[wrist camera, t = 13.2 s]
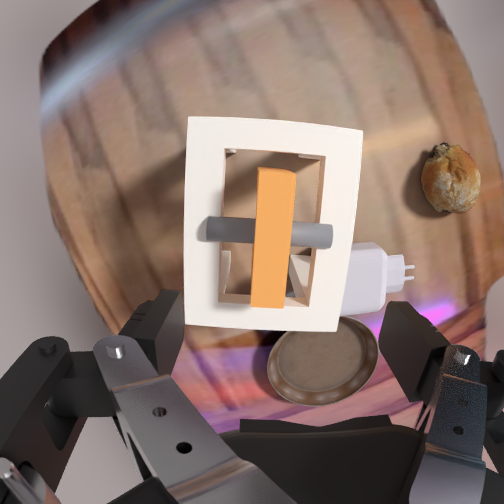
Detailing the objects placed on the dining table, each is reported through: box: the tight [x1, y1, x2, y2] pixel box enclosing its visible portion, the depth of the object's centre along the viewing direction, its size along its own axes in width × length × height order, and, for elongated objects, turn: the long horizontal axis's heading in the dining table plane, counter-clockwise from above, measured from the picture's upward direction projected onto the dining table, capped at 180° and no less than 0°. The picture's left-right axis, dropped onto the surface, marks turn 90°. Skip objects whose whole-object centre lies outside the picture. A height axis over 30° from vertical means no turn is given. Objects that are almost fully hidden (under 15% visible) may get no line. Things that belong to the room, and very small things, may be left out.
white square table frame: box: [184, 117, 363, 332], centre depth 33 cm, size 18×14×17 cm
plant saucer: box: [267, 316, 379, 407], centre depth 46 cm, size 18×18×3 cm
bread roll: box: [421, 143, 480, 214], centre depth 37 cm, size 10×10×8 cm
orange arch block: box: [250, 167, 296, 309], centre depth 27 cm, size 10×2×10 cm, turn 177°
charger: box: [340, 242, 415, 316], centre depth 41 cm, size 5×9×15 cm
